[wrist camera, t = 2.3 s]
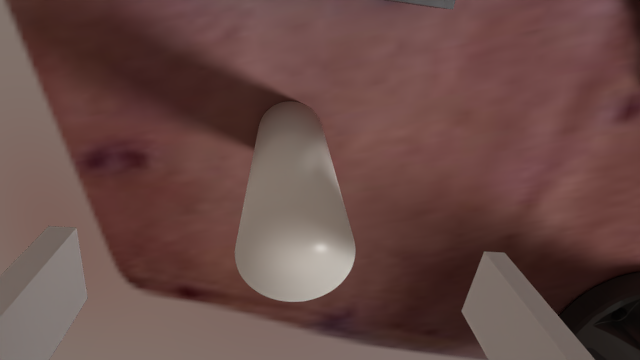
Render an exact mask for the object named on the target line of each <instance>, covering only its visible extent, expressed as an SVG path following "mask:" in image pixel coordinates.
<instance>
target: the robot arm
mask: <svg viewBox="0 0 640 360" xmlns="http://www.w3.org/2000/svg"><path fill="white" fill-rule="evenodd" d="M87 298H88V297H87V291H86V285H85V278H84V271H83V265H82V259H81V253H80V247H79V241H78V234H77V228H73V227H56V226H49V227H47V228H46V229H45V231H43V233H42V234H41V235H40V236H39V237H38V238H37V239H36V240H35V241H34V242H33V243H32V244H31V245H30V246H29V247H28V248H27V249H26V250H25V251H24V252H23V253H22V254H21V255H20V256H19V257H18V258H17V259H16V260H15V261H14V262H13V263H12V264H11V266H9V268H7V269H6V271H5V272H4V273H3V274H2V275H1V276H0V360H50V358H51V357H52V355H53V353H54V352H55V350H56V348H57V347H58V345H59V344H60V342H61V340H62V339H63V337H64V336H65V334H66V332H67V331H68V329H69V328H70V326H71V324H72V323H73V321H74V319H75V318H76V316H77V314H78V313H79V312H80V310H81V308H82V307H83V305H84V303H85V302H86V300H87ZM461 312H462V313H463V315H464V317H465V319H466V321H467V322H468V324H469V326H470V328H471V330H472V331H473V333H474V335H475V337H476V339H477V340H478V342H479V344H480V346H481V348H482V349H483V351H484V353H485V355H486V356H487V358H488V360H640V272H638V273H632V274H628V275H624V276H621V277H618V278H615V279H612V280H609V281H607V282H605V283H603V284H601V285H599V286H597V287H595V288H593V289H591V290H590V291H588V292H587V293H585V294H584V295H582V296H581V297H579V298H578V299H577V300H575V301H574V302H573V303H572V304H571V305H570V306H569V307H568V308H566V309H565V311H564V312H563V313H562V314H561V315H560V316H558V315H557V314H556V313H555V312H554V310H553V309H552V308H551V307H550V306H549V305H548V303H547V302H546V301H545V300H544V299H543V297H542V296H541V295H540V294H539V293H538V292H537V290H536V289H535V288H534V287H533V286H532V284H531V283H530V282H529V281H528V280H527V279H526V277H525V276H524V275H523V274H522V273H521V271H520V270H519V269H518V268H517V267H516V266H515V264H514V263H513V262H512V261H511V260H510V258H509V257H508V256H507V255H506V254H505V253H502V252H485V251H484V253H483V256H482V258H481V261H480V264H479V266H478V269H477V272H476V274H475V277H474V279H473V282H472V285H471V287H470V290H469V292H468V295H467V298H466V300H465V303H464V306H463V308H462V311H461Z"/></svg>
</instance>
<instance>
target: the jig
mask: <svg viewBox="0 0 640 360" xmlns="http://www.w3.org/2000/svg"><path fill="white" fill-rule="evenodd" d="M386 1H393V2H400V3H407V4H413V5H420V6H427V7H434V8H444V9H453V8H454V4H455V0H386Z"/></svg>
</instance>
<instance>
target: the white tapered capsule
mask: <svg viewBox="0 0 640 360" xmlns="http://www.w3.org/2000/svg"><path fill="white" fill-rule="evenodd" d="M354 260H355V242H354V238H353V234H352V231H351V227H350V224H349V220H348V217H347V213H346V210H345V206H344V202H343V199H342V195H341V192H340V188H339V185H338V181H337V178H336V174H335V171H334V167H333V163H332V160H331V156H330V153H329V149H328V146H327V142H326V139H325V135H324V132H323V128H322V124H321V122H320V119H319V117H318V116H317V114H316V113H315V112H314V111H313V110H312V109H311V108H310V107H308V106H307V105H305V104H302V103H299V102H294V101H286V102H281V103H278V104H276V105H274V106H272V107H271V108H270V109H268V110H267V111H266V112H265V114H264V115H263V117H262V118H261V121H260V124H259V128H258V133H257V138H256V143H255V149H254V154H253V159H252V164H251V169H250V174H249V179H248V185H247V190H246V195H245V200H244V205H243V210H242V216H241V221H240V226H239V231H238V236H237V241H236V247H235V261H236V265H237V268H238V271H239V273H240V275H241V276H242V278H243V279H244V280H245V282H246V283H247V284H248V285H249V286H250V287H251V288H253V289H254V290H255V291H257V292H258V293H260V294H262V295H264V296H266V297H269V298H272V299H275V300H280V301H287V302H300V301H307V300H312V299H315V298H318V297H321V296H323V295H325V294H327V293H329V292H330V291H332V290H333V289H335V288H336V287H337V286H339V285H340V284H341V283H342V282H343V281H344V279H345V278H346V277H347V275H348V274H349V272H350V271H351V268H352V266H353V263H354Z"/></svg>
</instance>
